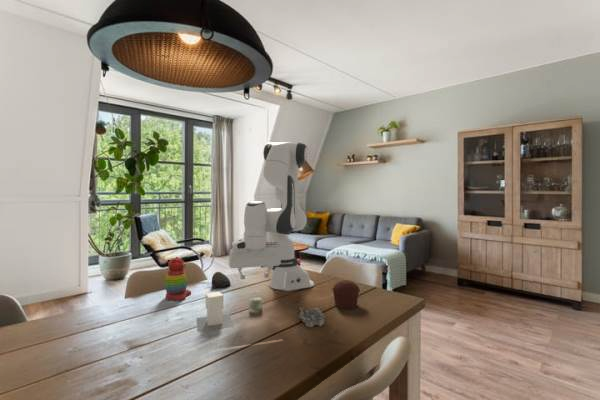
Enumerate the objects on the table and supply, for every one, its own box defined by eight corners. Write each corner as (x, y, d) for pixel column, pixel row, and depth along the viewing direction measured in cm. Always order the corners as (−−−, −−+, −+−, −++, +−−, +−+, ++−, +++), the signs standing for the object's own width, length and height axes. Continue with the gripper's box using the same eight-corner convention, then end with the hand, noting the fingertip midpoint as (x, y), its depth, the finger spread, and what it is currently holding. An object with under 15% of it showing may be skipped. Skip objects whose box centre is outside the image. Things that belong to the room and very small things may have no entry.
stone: (223, 290, 165) (208, 277, 163) (234, 279, 164) (219, 266, 162) (219, 299, 155) (203, 286, 153) (230, 287, 154) (215, 274, 153)
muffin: (350, 299, 139) (350, 276, 139) (365, 307, 129) (365, 283, 128) (327, 303, 134) (327, 279, 134) (340, 312, 124) (340, 286, 124)
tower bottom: (221, 318, 116) (221, 305, 116) (222, 323, 112) (222, 309, 112) (207, 320, 115) (206, 306, 115) (207, 325, 110) (207, 311, 110)
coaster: (229, 315, 121) (229, 313, 121) (233, 328, 109) (233, 326, 109) (196, 319, 117) (196, 318, 117) (197, 333, 106) (197, 331, 106)
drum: (260, 309, 127) (260, 297, 127) (263, 313, 123) (263, 301, 122) (248, 310, 126) (248, 298, 125) (250, 315, 121) (250, 302, 121)
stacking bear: (183, 300, 137) (183, 260, 137) (160, 300, 137) (159, 260, 137) (192, 293, 148) (192, 255, 148) (171, 292, 148) (170, 255, 148)
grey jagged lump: (298, 317, 120) (298, 306, 120) (317, 315, 122) (317, 304, 122) (305, 328, 110) (305, 316, 110) (326, 326, 111) (326, 314, 111)
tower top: (219, 304, 116) (219, 291, 116) (223, 309, 112) (223, 295, 112) (205, 307, 114) (205, 293, 114) (209, 311, 110) (209, 297, 110)
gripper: (278, 240, 130) (278, 274, 130) (228, 242, 123) (227, 277, 123) (283, 242, 124) (282, 278, 124) (229, 244, 117) (229, 282, 117)
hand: (254, 278), depth 123 cm, fingers open, 8 cm apart
